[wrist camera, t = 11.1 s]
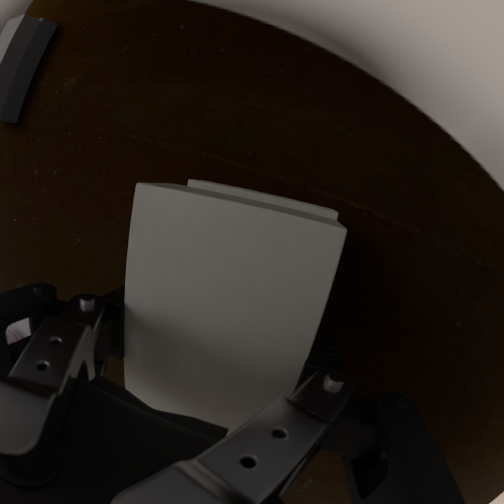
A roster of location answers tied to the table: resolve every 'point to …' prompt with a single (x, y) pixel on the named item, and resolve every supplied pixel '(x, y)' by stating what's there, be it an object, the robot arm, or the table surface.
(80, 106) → the table surface
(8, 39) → the gray block
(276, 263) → the light grey rectangular block
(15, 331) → the teacup
